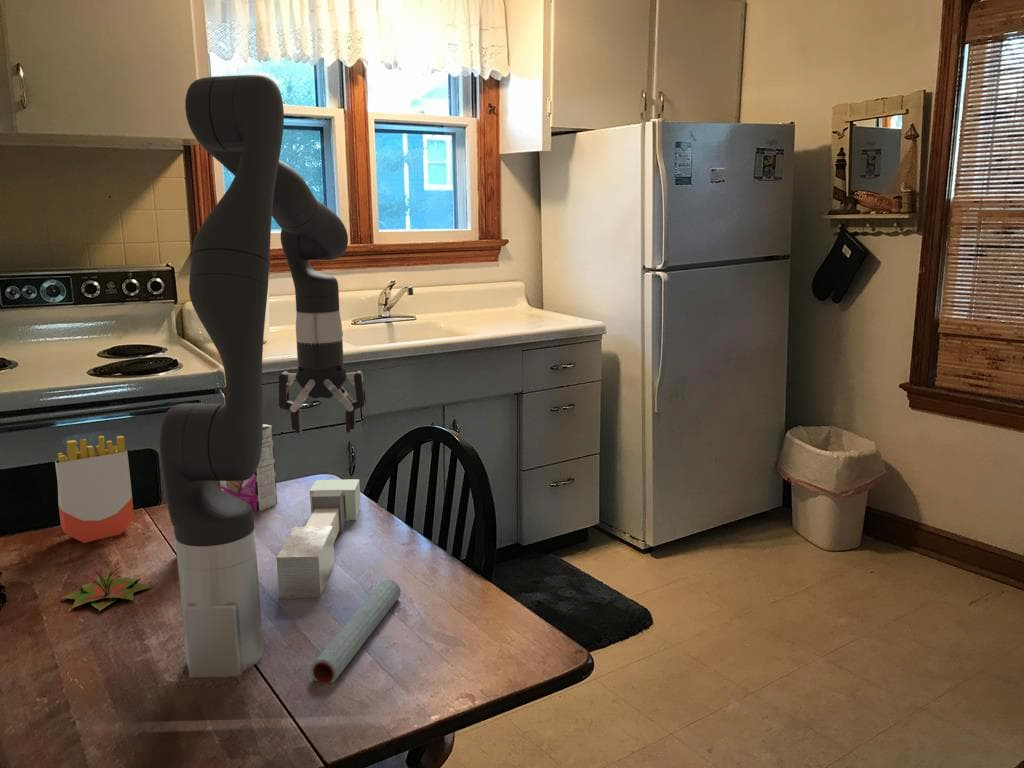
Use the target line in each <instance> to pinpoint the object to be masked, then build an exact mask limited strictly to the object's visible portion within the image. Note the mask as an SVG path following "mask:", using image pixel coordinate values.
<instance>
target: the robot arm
mask: <svg viewBox="0 0 1024 768" xmlns="http://www.w3.org/2000/svg"><path fill="white" fill-rule="evenodd" d="M184 103H185V106H184V107H185V108H184V109H185V116H186V120H187V123H188V126H189V129H190V131H191V133H192V134H193V136H194V138H195V139H196V140H197V141H198V143H199V144H200V145H201V147H202V148H203V149H204V150H206V151H207V152H208V154H210V155H211V156H212V157H213V158H214V159H216V161H218V162H219V163H220V164H221V165H222V166H223V167H224V168H225V169H226V170H228V171H229V172H230V173H231V174H232V175H233V176H234V178H233V180H232V182H231V183H230V185H229V187H228V188H227V190H226V192H225V193H224V194H223V196H222V197H221V198H220V199H219V201H218V202H217V203H216V205H215V206H214V207H213V209H212V210H211V212H210V213H209V214H208V216H207V217H206V219H204V221H203V223H202V224H201V225H200V227H199V229H198V231H197V233H196V235H195V238H194V240H193V242H192V248H191V258H190V270H189V280H188V283H189V285H188V292H189V299H190V302H191V305H192V307H193V310H194V311H195V313H196V315H197V316H198V319H199V320H200V322H201V325H202V326H203V328H204V330H205V331H206V332H207V334H208V336H209V337H210V340H211V341H212V343H213V345H214V346H215V349H216V350H217V353H218V354H219V358H220V359H221V362H222V366H223V369H224V375H225V381H226V382H225V383H226V384H225V385H226V402H225V403H180V404H175V405H173V406H172V407H170V408H169V409H168V410H167V412H166V413H165V415H164V417H163V420H162V422H161V425H160V430H159V431H160V432H159V455H160V464H161V469H162V477H163V482H164V487H165V488H164V489H165V493H166V494H165V495H166V501H167V508H168V509H167V510H168V516H169V519H170V521H171V523H172V526H173V530H174V542H175V541H176V547H175V550H176V559H177V560H176V561H177V563H176V564H177V573H178V583H179V584H178V585H179V592H180V593H179V595H180V607H181V614H182V615H181V617H182V625H183V626H182V627H183V636H184V647H185V656H186V657H185V658H186V666H187V669H188V677H189V678H219V677H220V678H222V677H223V678H224V677H227V678H228V677H229V678H230V677H240V676H242V674H243V673H244V672H245V671H247V670H248V669H250V668H251V667H254V666H255V665H256V664H257V663H258V662H259V661H260V660H261V659H262V658H263V655H264V651H265V649H264V638H263V625H262V624H263V623H262V614H261V611H262V610H261V600H260V599H261V597H260V596H261V595H260V585H259V584H260V583H259V571H258V558H257V557H258V556H257V542H256V529H255V527H256V525H255V514H254V510H253V509H252V507H251V506H250V505H249V504H248V503H247V502H245V501H243V500H241V499H239V498H236V497H234V496H231V495H229V494H227V493H225V492H223V491H222V490H220V488H219V487H218V486H217V485H216V484H214V483H213V482H219V481H243V480H247V479H249V478H251V477H252V476H253V475H254V474H255V472H256V470H257V467H258V465H259V462H260V457H261V451H262V440H263V424H264V420H263V419H264V415H263V414H264V410H263V408H264V405H263V403H264V401H263V352H264V351H263V350H264V337H265V336H264V335H265V334H264V333H265V322H266V312H267V303H268V302H267V301H268V292H269V277H270V264H271V232H272V219H274V221H275V223H276V224H277V225H278V226H279V227H280V228H281V230H280V243H281V248H282V251H283V254H284V256H285V260H286V262H287V265H288V267H289V271H290V274H291V278H292V282H293V286H294V291H295V292H294V294H295V311H296V313H295V314H296V316H295V318H296V319H295V337H296V355H297V372H295V373H293V372H292V373H291V372H288V371H286V370H285V371H283V372H281V374H279V376H278V407H279V408H280V409H285V410H287V411H289V412H290V419H291V421H290V422H291V429H292V431H295V434H301V433H302V431H303V416H302V414H303V413H302V409H300V408H301V406H302V405H303V403H304V402H305V401H306V399H307V398H308V397H309V398H312V399H319V398H323V399H331V398H333V397H335V398H336V400H337V401H338V402H339V403H341V404H342V406H343V407H344V408H345V409H346V411H345V429H346V432H345V433H348V434H349V433H352V431H353V430H354V429H355V427H356V425H357V423H356V422H357V421H356V410H357V409H359V408H360V409H361V408H363V407H364V406H365V404H366V403H367V397H366V388H365V379H364V373H363V371H362V370H357V371H354V372H346V370H345V367H344V365H345V363H344V346H343V337H344V332H343V331H344V330H343V325H342V319H341V312H340V311H341V310H340V295H339V294H340V292H339V282H338V279H337V278H336V277H335V276H333V275H330V274H327V273H326V274H325V273H322V272H318V271H316V270H314V268H313V266H312V265H311V263H310V261H332V260H338V259H340V257H342V256H343V255H344V254H345V252H346V251H347V248H348V244H349V236H348V231H347V229H346V226H345V224H344V222H343V221H342V220H341V218H340V217H339V216H338V215H337V214H336V213H335V212H334V211H332V210H331V209H330V208H329V207H327V206H326V205H325V204H324V203H322V202H321V201H320V200H317V198H316V197H315V195H314V193H313V192H312V190H311V188H310V187H309V185H308V184H307V182H306V180H305V179H304V178H303V177H302V176H301V174H300V173H299V172H297V171H296V170H295V169H294V168H293V167H291V166H290V165H288V164H287V163H285V162H284V161H282V160H280V156H281V150H282V143H283V135H284V124H285V123H284V120H285V119H284V118H285V111H284V109H285V108H284V103H283V97H282V93H281V91H280V88H279V86H278V84H277V83H276V82H275V80H274V79H272V78H271V77H269V76H267V75H262V74H238V75H218V76H217V75H216V76H205V77H201V78H199V79H196V80H194V81H193V82H192V83H191V84H190V85H189V87H188V88H187V91H186V95H185V100H184ZM347 380H348V381H349V382H350V384H351V385H352V386H354V390H355V391H354V392H355V399H356V400H353V398H352V397H351V396H350V394H349V393H348V391H346V389H345V388H344V387H343V385H344V383H345V382H346V381H347ZM295 381H296V383H297V384H298V385H299V387H301V389H302V390H301V391H300V393H299V394H298V395H297V396H296V399H295V400H294V401H292V400H290V386H292V385H293V383H294V382H295Z"/></svg>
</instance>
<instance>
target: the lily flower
mask: <svg viewBox="0 0 1024 768" xmlns="http://www.w3.org/2000/svg"><path fill="white" fill-rule="evenodd" d="M118 565H119V563H118V562H117V563H115V564H114V567H113V568H112V569H111V571H110V572H109V573H108V571H107V570H106V574H105V573H104V572H103V571H102V570H101V567H99V566H97V568H98V569H99V570H100V573H101V574H100V573H99V572H98V570H96V569H92V571H93V572H94V574H96V576H97V577H98V578H99V579H94V578H92V577H88V579H89V580H91V582H88V583H87V584H81V588H82V589H81V590H76V591H73V592H70V593H69V594H66V595H65V596H61V597H60V599H71V600H75V601H74V602H73V606H71V608H70V609H74V608H76V607H79V606H81V605H83V604H86V603H87V604H88V603H90V605H91V606H93V607H94V608H95V609H98V612H100V611H102V610H103V609H105V608H106V607H108V606H110V605H111V604H113V603H114V602H116V601H117V600H118V598H119V599H123V600H130V601H135V598H134V597H135V596H134V593H136V592H139V591H144V590H146V589H150V588H152V585H146V584H144V583H135V582H136V581H138V580H140V579H141V577H125V576H124V577H121V575H117V574H118V572H116V571H117V570H120V569H121V568H122V566H118ZM117 566H118V567H117ZM115 567H117V568H116V569H115ZM114 569H115V570H114ZM116 575H117V576H116ZM110 592H113V594H112V595H110ZM103 594H104V595H105V596H103Z"/></svg>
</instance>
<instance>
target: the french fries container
mask: <svg viewBox="0 0 1024 768" xmlns="http://www.w3.org/2000/svg"><path fill="white" fill-rule="evenodd" d="M77 445H78V444H77V441H76V440H75V439H73V440H72V439H71V440H66V449H67V450H66V452H67V456H66V454H63V452H59V453H57V457H58V462H57V461H56V460H54V464H55V473H56V480H57V481H56V482H57V500H58V501H57V504H58V512H59V513H58V514H59V520H60V522H59V523H60V527H61V529H62V530H63V532H64V534H66V535H67V536H69V537H71V538H73V539H75V540H77V541H79V542H81V543H83V544H85V543H88V542H93V541H98V540H100V539H101V540H102V539H106V538H109V537H114V536H115V537H116V536H120V535H122V534H123V533H124V531H125V530H126V529H127V528H128V527H129V526H130V525H131V524H132V523H133V521H134V520H135V514H134V512H135V511H134V504H133V503H134V501H133V494H132V493H133V492H132V482H131V475H130V463H129V456H128V450H127V449H126V447H125V436H123V435H119V436H116V445H114V444H113V440H107V441H106V447H105V436H104V435H99V436H98V445H96V446H95V447H96V452H95V447H94V446H93V445H87V439H84V438H83V439H82V438H81V439H80V445H79V447H77Z"/></svg>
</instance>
